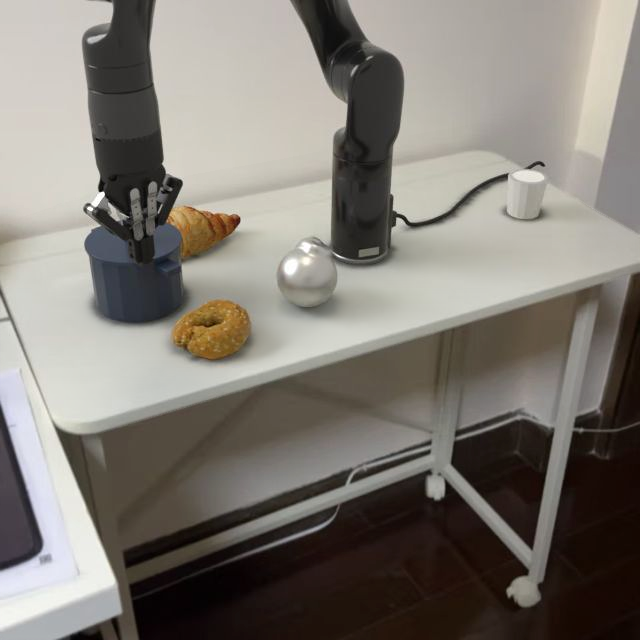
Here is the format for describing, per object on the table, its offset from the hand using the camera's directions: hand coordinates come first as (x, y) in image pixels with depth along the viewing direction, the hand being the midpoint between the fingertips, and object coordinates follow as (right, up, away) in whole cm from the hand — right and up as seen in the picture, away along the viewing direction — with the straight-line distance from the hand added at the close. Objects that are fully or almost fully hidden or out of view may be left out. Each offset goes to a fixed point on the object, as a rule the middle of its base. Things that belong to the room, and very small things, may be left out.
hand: (142, 262), depth 105 cm
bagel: (+7, -10, +15) cm, 19 cm away
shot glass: (+58, +12, +51) cm, 78 cm away
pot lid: (-5, +4, +18) cm, 20 cm away
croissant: (-1, +5, +38) cm, 38 cm away
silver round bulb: (+20, -4, +24) cm, 31 cm away
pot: (-5, -4, +23) cm, 24 cm away
